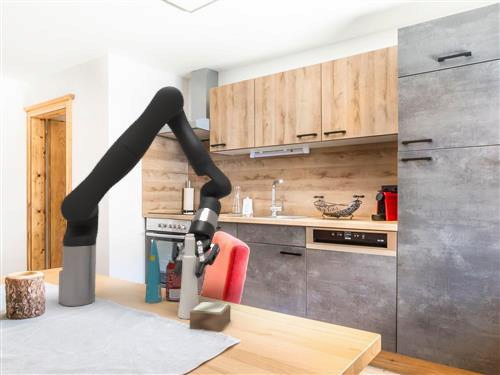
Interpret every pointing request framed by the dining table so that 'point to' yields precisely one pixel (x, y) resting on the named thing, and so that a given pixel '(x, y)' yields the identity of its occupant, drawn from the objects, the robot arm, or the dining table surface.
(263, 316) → the dining table surface
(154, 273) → the tube
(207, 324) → the pedestal
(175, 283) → the soda can
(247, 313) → the dining table surface
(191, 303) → the cosmetic bottle
